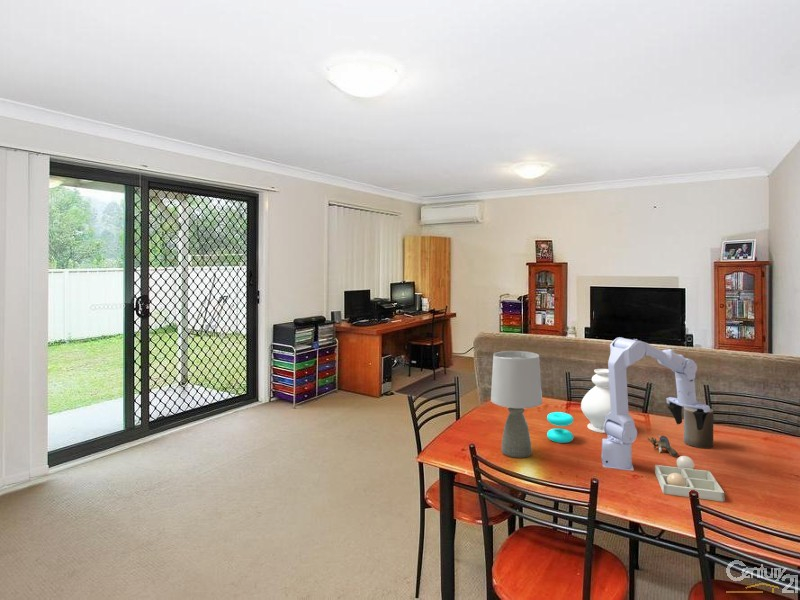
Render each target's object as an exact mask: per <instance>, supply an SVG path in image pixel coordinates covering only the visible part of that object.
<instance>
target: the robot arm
mask: <svg viewBox="0 0 800 600" xmlns="http://www.w3.org/2000/svg"><path fill="white" fill-rule="evenodd" d="M609 349H610V351H609V352H610V355H609V357H608V362H607V365H608V366H607V367H608V368H607V369H608V371H609V388H610V406H611V412H610V413H608V414H607V415H606V416H605V423H604V431H605V433H604V434H606V435H607V436H606V438H602V439H601V455H600V459H601V462H602V463H601V464H602V467H603V468H607V469H614V470H615V469H616V470H624V471H632V472H633V471H634V470H635V469H634V465H633V463H632V462H633V461H632V450H633V449H632V444H633V443H634V441H636V439H637V436H638V429H637V427H636V426H635V420H634V419H633V417H632V416H631V415H630V413H629V397H628V396H629V395H628V379H627V377H628V375H627V369H628V367H630V366H632V365H633V364H635V363H636V362H638V361H640V360H641V359H643V358H644V357H647V356H649V357H651V358H653V359H656V360H657V362H658V363H659V364H660V365H661V366H663V367H666V368H668V369H670V371H672V372H674V376H675V386H676V397H672V396H669V397H666V399H665V400H666V404H668V405H667V409H668V410H669V411H670V412H671V415H672V416H673V418H674V421H675V422H676V425H678V426H679V425H681V424H682V423H683V413H682V410H683V408H684V407H688V408H692V409H697V411H695V412H693V414H694V416H695V419H696V423H697V429H698V430H701V429H703V425H704V421H705V418H706V416H707V414H708V413H709V411H710V409H711V408H710V405H708V404H705V403H703V402H700V401H698V400H697V394H696V384H695V379H696V372H697V370H698V365H697V364H696V362H695V361H694V360H693V359H692V358H687V357H684V355H683V354H678V353H677V352H675V350H673V349H670V348H668V349H663V350H661V349H659V348H657V347H656V346H654V345H652V344H650V343H648V342H645V341H642V340H635V339H631V338H624V337H622V336H621V337H620V336H619V337H616V338H615V339H613V341H611V343H610V344H609Z"/></svg>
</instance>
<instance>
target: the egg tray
mask: <svg viewBox="0 0 800 600" xmlns="http://www.w3.org/2000/svg"><path fill="white" fill-rule="evenodd" d="M654 473H655V475H656V479H657V481H658V483H659V486H660V488H661V491H662V494H663V495H670V496H676V497H677V496H678V497H685V498H690V497H689V492H690V491H691V490H695V491H697V492H698V493H699V498H700V499H701V500H709V501H715V502H723V503H724V502H725V492H724V490H723V489H722V487H721V485H720V484H719V482H718V481H717V480H716V478H715V476H714V475H713V474H712V472H711V471H710V470H704V469H696V468H695V469H694V468H693V469H688V468H679V467H678V466H668V465H661V464H655V465H654ZM671 473H678V474H680V475H682V476H683V477H684V478H685V481H686V486H685V487H683V486H675V485H668V483H667V477H668V475H669V474H671ZM699 498H698V499H699Z"/></svg>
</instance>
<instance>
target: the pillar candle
mask: <svg viewBox="0 0 800 600" xmlns="http://www.w3.org/2000/svg"><path fill="white" fill-rule="evenodd" d="M695 411H697V409H692V408H688V407H683V443H684V442H685V443H686V444H685V443H684V444H685V445H687V444H688V446H690V445H691V446H690V447H695V448H698V449H711V448H713V447H714V413H715V412H714V409H713V408H710V411H709V413H708V414H707V416H706V418H705V421H704V425H703V429H701V430H698V429H697V423H696V419H695V416H694V414H693V412H695ZM712 446H713V447H712Z"/></svg>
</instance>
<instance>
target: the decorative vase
mask: <svg viewBox="0 0 800 600" xmlns="http://www.w3.org/2000/svg"><path fill="white" fill-rule="evenodd" d="M593 371H594V372H593V373H595V374H594V375H592V377H591V382H592V383H593V384H594V385H595V386H593V387H592V388H591V389H590V390H588V391H587V392H586V394H585V395H584V396H583V397H582V400H581V402H580V409H581V411H582V413H583V415H584V416H585V418H587V420H588V421H589V422H590V423H588V424H587V428H588V429H589V430H591V431H592V432H596V433H600V434H606V433H605V431H604V423H605V416H606V415H607V414H608V413H610V412H611V406H610V388H609V371H608V368H596V369H595V368H594V370H593Z"/></svg>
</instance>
